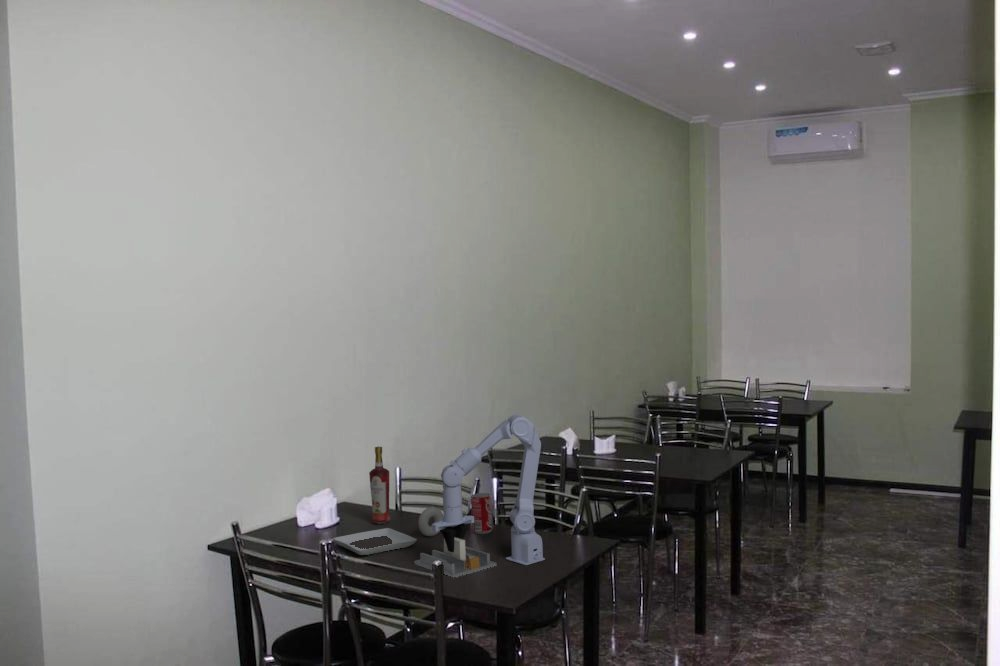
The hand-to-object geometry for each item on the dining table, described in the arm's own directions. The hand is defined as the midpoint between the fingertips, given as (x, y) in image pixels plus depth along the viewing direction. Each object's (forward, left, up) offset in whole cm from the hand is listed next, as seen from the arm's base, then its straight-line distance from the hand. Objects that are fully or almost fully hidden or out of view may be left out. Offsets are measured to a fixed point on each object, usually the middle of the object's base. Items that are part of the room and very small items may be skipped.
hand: (454, 550), depth 257 cm
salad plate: (+36, +6, -5) cm, 37 cm away
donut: (+33, -15, -5) cm, 37 cm away
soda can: (+24, -30, -5) cm, 39 cm away
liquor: (+62, -13, -5) cm, 64 cm away
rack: (0, 0, -4) cm, 4 cm away
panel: (0, 0, -3) cm, 3 cm away
